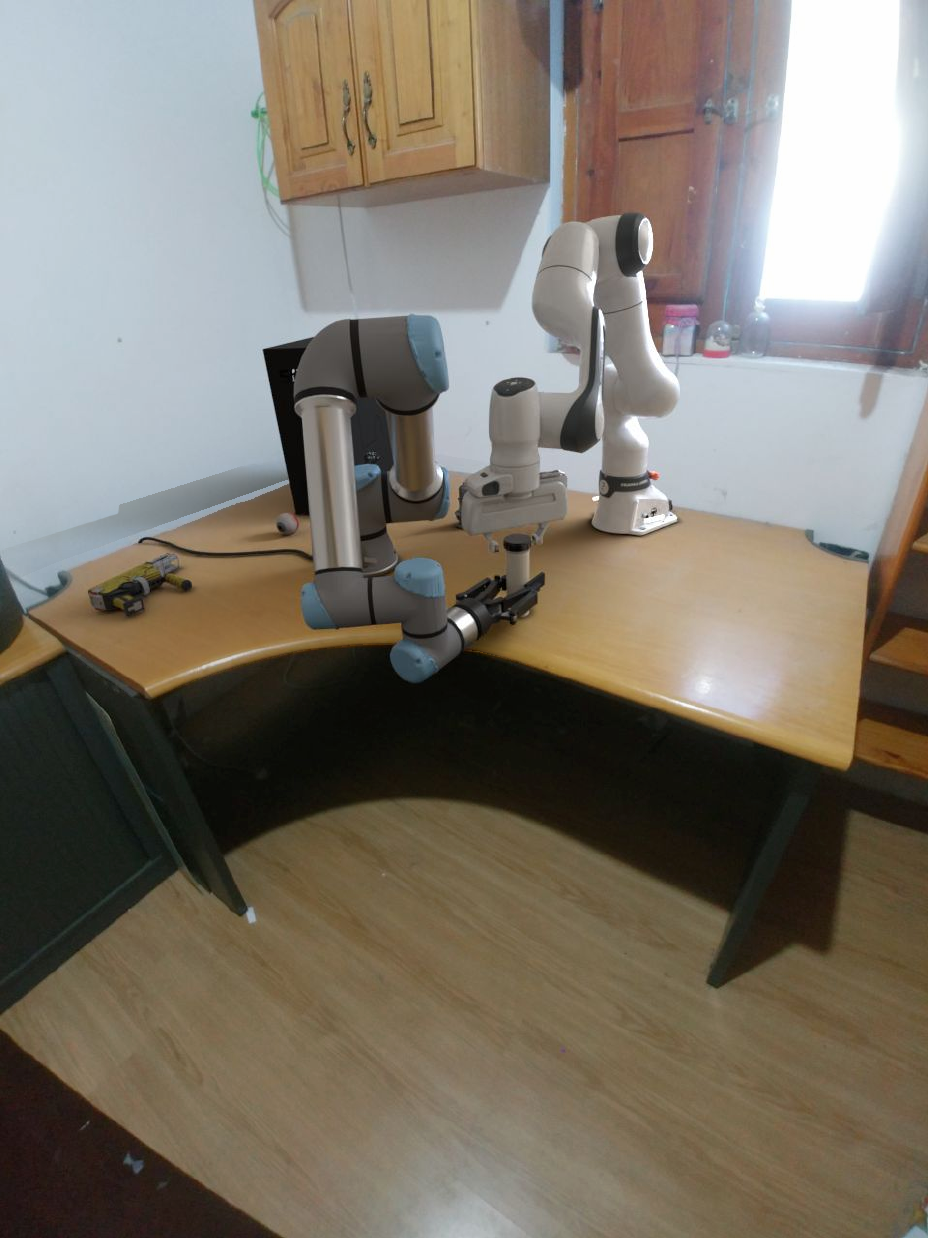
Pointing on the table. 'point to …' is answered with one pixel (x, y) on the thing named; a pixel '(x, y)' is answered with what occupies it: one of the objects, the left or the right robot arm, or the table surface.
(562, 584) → the table surface
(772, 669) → the table surface
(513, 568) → the jar
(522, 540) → the lid
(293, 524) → the eyeball
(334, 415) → the left robot arm
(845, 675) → the table surface
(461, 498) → the grey chess piece
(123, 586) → the toy gun
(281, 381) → the black computer case
